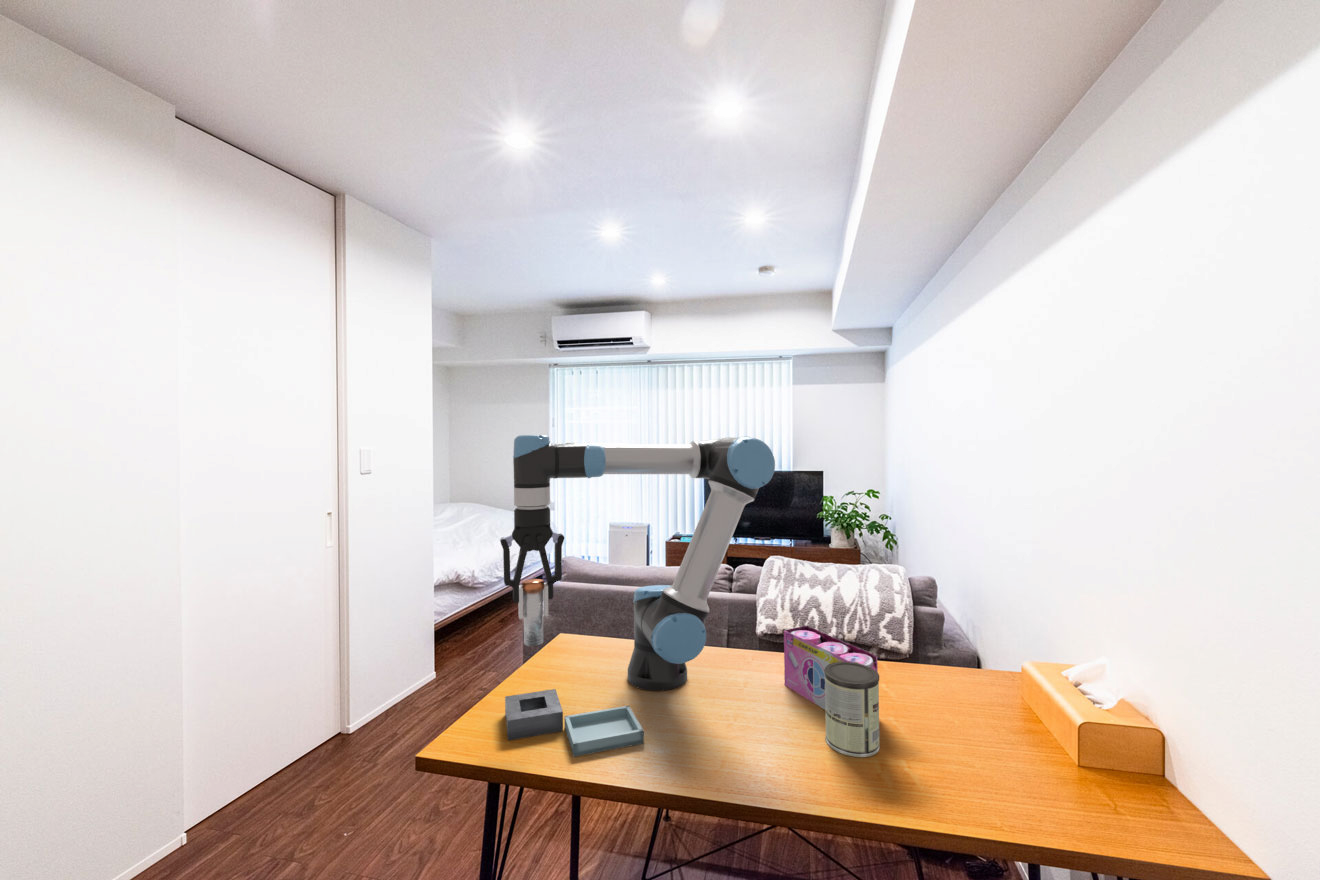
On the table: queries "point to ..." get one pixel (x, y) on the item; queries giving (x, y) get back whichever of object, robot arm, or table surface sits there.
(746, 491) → the robot arm
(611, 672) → the table surface
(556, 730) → the block
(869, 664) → the gum box
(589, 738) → the tray
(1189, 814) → the table surface
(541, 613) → the pin
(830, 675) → the coffee can
